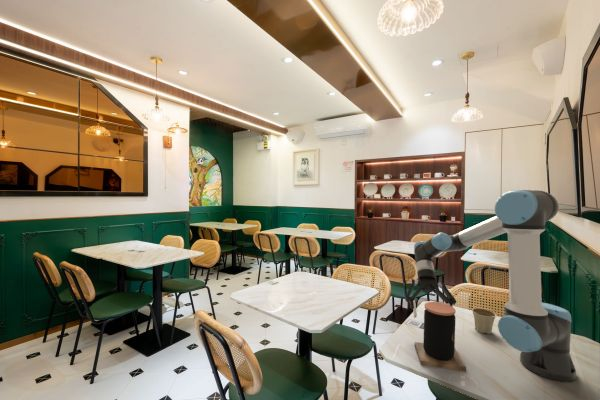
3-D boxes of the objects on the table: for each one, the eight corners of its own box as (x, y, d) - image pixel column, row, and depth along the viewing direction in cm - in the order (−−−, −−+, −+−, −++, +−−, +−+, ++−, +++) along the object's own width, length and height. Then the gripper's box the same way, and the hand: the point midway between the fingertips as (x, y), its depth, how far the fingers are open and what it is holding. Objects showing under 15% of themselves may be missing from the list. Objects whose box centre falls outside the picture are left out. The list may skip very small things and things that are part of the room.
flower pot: (495, 329, 128) (495, 311, 128) (496, 338, 120) (497, 318, 120) (471, 323, 133) (472, 306, 133) (471, 332, 125) (471, 313, 125)
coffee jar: (458, 363, 99) (460, 314, 98) (427, 359, 101) (428, 311, 101) (448, 347, 109) (450, 303, 109) (420, 344, 112) (421, 300, 111)
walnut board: (454, 350, 110) (454, 347, 110) (466, 371, 97) (466, 367, 97) (414, 345, 113) (414, 341, 113) (420, 364, 101) (420, 360, 100)
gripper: (453, 278, 127) (463, 325, 113) (396, 273, 133) (400, 318, 119) (457, 270, 122) (469, 318, 108) (398, 266, 128) (402, 311, 113)
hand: (432, 318), depth 113 cm, fingers open, 13 cm apart
